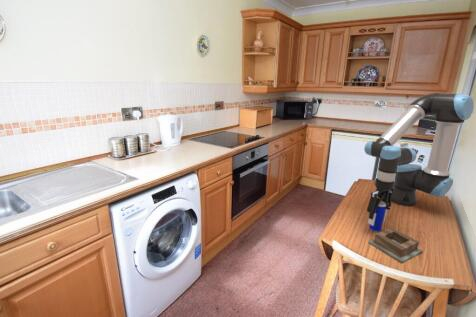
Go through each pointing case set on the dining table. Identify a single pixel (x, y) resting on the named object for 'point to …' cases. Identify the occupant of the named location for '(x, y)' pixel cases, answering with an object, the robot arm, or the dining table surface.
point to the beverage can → (379, 217)
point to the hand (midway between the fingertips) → (376, 222)
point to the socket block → (396, 244)
